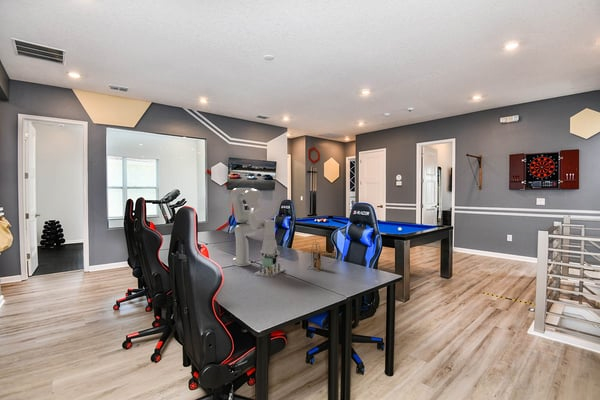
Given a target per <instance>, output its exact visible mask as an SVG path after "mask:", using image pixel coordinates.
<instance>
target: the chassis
mask: <svg viewBox="0 0 600 400" xmlns="http://www.w3.org/2000/svg"><path fill="white" fill-rule="evenodd" d="M273 266H274V267H273ZM285 270H286V268H282V267H281V263H278V262H277V263H275V264H274V265H272V266H263V264H261V265H259V270H258V271H256V272H254V275H255V276H261V277H269V278H273V277H275V276H277V275H280V273H282V272H285Z"/></svg>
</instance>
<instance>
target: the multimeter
mask: <svg viewBox="0 0 600 400" xmlns="http://www.w3.org/2000/svg"><path fill="white" fill-rule="evenodd" d="M313 243H315V246H316V247H315V250H313V249H312V250H311V253H310V254H311V258H312V265H310V266H309V268H310V267H312V270H313V271H315V272H317V271H321V272H323V270H324V267H323V265H322V261H321V260H322V258H321V257H322V255H321V253H322V252H321V250H318V247H319V248H321V246H320V242H317V241H313ZM313 247H314V245H312V246H311V248H313ZM315 269H316V270H315ZM321 269H322V270H321Z"/></svg>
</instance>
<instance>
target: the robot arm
mask: <svg viewBox="0 0 600 400" xmlns="http://www.w3.org/2000/svg"><path fill="white" fill-rule="evenodd" d="M241 199H243V200H245V203H246V205H247V207H248V209H245V208H246V207H245V204H244V202H243V201H242V200H241ZM262 199H263V194H262V192H261V191H260V190H259V189H255V188H251V187H237V188H233V189H232V190H231V193H230V200H231V203H232V206H233V214H234V219H235V222H236V223H240V224H237V225H236V226H235V227H234V231H233V232H234V236H235V257H234V258H233V259H232V261H233V262H234V264H233V265H234V266H236V267H245V266H246V267H247V266H250V265H251V264H252V263H251V261H249V260H250V259H249V240H248V238H247V236H253V235H255V234H256V233H257V231H263V233H264V234H263V236H262V238H263V241H262V247H261V250H260V251H259V252H260V254H261V256H262V257H263V258H265V257H266V256H268V255H273V264H275V263H276V258H277V259H278V257H279V255H280V254H281V252H280V251H279V250H278V245H277V244H278V243H277V239H276V224H275V223H276V221H275V220H273V219H267V218H264V219H256V216H255V213H257V212H259V210H260V209H261V204H260V201H262ZM276 264H277V263H276Z"/></svg>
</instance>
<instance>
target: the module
mask: <svg viewBox="0 0 600 400" xmlns="http://www.w3.org/2000/svg"><path fill="white" fill-rule="evenodd" d="M261 262H262V264H261V265H262V267H267V266H269V267H270V266H272V267H273V266H274V264H273V255H270V254H267V256H266V257H265V258H264V257H263V258H262V261H261ZM276 264H278V257H277V258H276Z"/></svg>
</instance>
